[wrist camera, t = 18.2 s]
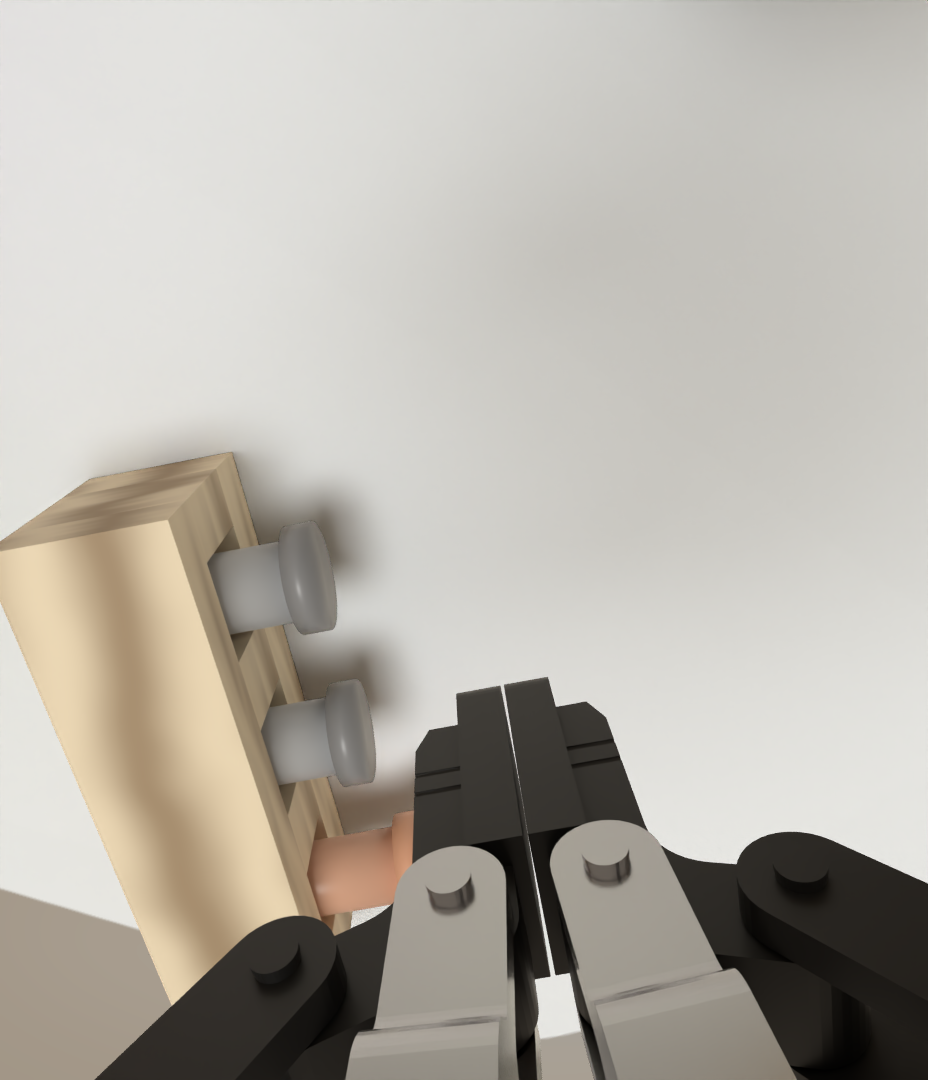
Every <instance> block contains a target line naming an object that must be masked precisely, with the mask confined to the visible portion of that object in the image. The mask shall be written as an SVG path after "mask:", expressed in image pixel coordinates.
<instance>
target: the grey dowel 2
mask: <svg viewBox="0 0 928 1080" xmlns="http://www.w3.org/2000/svg"><path fill="white" fill-rule="evenodd" d="M261 733H262V737H263V740H264V743H265V746H266V749H267V752H268V755H269V758H270V761H271V765H272V768H273V771H274V774H275V777H276V780H277V783H278V785H283V784H289V783H295V782H300V781H306V780H311V779H317V778H322V777H328V776H334V775H337V777H338V780H339V781H340V783H341V784H342V786H344V787H348V786H354V785H360V784H365V783H371V782H373V780H374V777H375V770H376V751H375V739H374V731H373V725H372V719H371V714H370V709H369V705H368V701H367V698H366V694H365V691H364V689H363V686H362V684H361V683H360V681H359V680H358V679H352V680H346V681H341V682H335V683H331V684H329V686H328V688H327V692H326V697H324V698H319V699H313V700H308V701H302V702H297V703H292V704H286V705H281V706H275V707H270V708H269V709H268V712H267V714H266V717H265V720H264V723H263V726H262V729H261Z"/></svg>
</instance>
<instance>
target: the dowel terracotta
mask: <svg viewBox="0 0 928 1080" xmlns="http://www.w3.org/2000/svg"><path fill="white" fill-rule="evenodd" d="M413 822H414V810H412V811H406V812H400V813H395V814H394V816H393V821H392V827H387V828H381V829H375V830H370V831H364V832H358V833H353V834H347V835H341V836H336V837H330V838H324V839H319V840H313V845H312V850H311V856H310V861H309V866H308V871H307V877H308V880H309V883H310V886H311V889H312V892H313V895H314V899H315V902H316V905H317V908H318V911H319V914H320V917H322V916H328V915H333V914H339V913H345V912H351V911H356V910H362V909H368V908H374V907H379V906H385V905H391V904H392V903H393V902H394V897H395V892H396V888H397V885H398V882H399V880H400V878H401V877H402V875H403V874H404V873H405V871H406V870H407V869H408V868H409V867H410V866H411V865H412V853H413Z"/></svg>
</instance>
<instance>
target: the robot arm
mask: <svg viewBox="0 0 928 1080" xmlns="http://www.w3.org/2000/svg"><path fill="white" fill-rule="evenodd" d="M504 688H505V695H506V701H507V707H508V713H509V719H510V726H511V732H512V738H513V744H514V751H515V757H516V763H517V768H516V763H515V758H514V753H513V748H512V743H511V737H510V732H509V727H508V722H507V717H506V712H505V707H504V702H503V696H502V692H501V687H500V686H496V687H490V688H485V689H479V690H474V691H468V692H463V693H457V694H456V699H457V718H458V725H455V726H449V727H444V728H438V729H433V730H429V731H428V733H427V735H426V736H425V738H424V739H423V741H422V743H421V744H420V746H419V747H418V749H417V751H416V760H415V777H416V778H415V791H414V793H415V797H414V822H413V853H412V865H411V866H410V867H409V868H408V869H407V870H406V871H405V873H404V874H403V875H402V877H401V878H400V880H399V882H398V885H397V888H396V892H395V897H394V902H393V903H392V904H391V905H390V906H389V907H388V908H387V909H385V910H384V911H383V912H381V913H380V914H378V915H377V916H375V917H374V918H372V919H370V920H368V921H366V922H364V923H362V924H360V925H357V926H355V927H353V928H351V929H349V930H346V931H344V932H342V933H340V934H338V935H335V936H334V934H333V932H332V930H331V929H330V928H329V927H328V926H327V925H326V924H325V923H324V922H322V921H321V920H319V919H316V918H313V917H309V916H288V917H283V918H279V919H276V920H273V921H271V922H268V923H266V924H264V925H262V926H260V927H258V928H256V929H255V930H253V931H252V932H250V933H249V934H248V935H246V936H245V937H244V938H243V939H242V940H241V941H239V942H238V943H237V944H236V945H235V946H234V947H233V948H232V949H231V950H230V951H229V952H228V953H227V954H226V955H225V956H224V957H223V958H222V959H221V960H219V961H218V962H217V963H216V964H215V965H214V966H213V967H212V968H211V969H210V970H209V971H208V972H207V973H206V974H205V975H204V976H203V977H202V978H201V979H200V980H199V981H197V982H196V983H195V984H194V985H193V986H192V987H191V988H190V989H189V990H188V991H187V992H186V993H185V994H184V995H183V996H182V997H181V998H180V999H179V1000H178V1001H177V1002H175V1003H174V1004H173V1005H172V1006H171V1007H170V1008H169V1009H168V1010H167V1011H166V1012H165V1013H164V1014H163V1015H162V1016H161V1017H160V1018H159V1019H158V1020H157V1021H156V1022H155V1023H154V1024H152V1026H150V1027H149V1028H148V1029H147V1030H146V1031H145V1032H144V1033H143V1034H142V1035H141V1036H140V1037H139V1038H138V1039H137V1040H136V1041H135V1042H134V1043H133V1044H132V1045H130V1046H129V1047H128V1048H127V1049H126V1050H125V1051H124V1052H123V1053H122V1054H121V1055H120V1056H119V1057H118V1058H117V1059H116V1060H115V1061H114V1062H113V1063H112V1064H111V1065H110V1066H108V1068H106V1069H105V1070H104V1071H103V1072H102V1073H101V1074H100V1075H99V1076H98V1077H97V1078H96V1079H95V1080H542V1069H541V1050H540V1037H539V1031H538V1026H537V1021H538V1014H539V1011H538V1000H537V993H536V985H535V979H539V978H545V977H551V976H550V970H549V963H548V957H547V951H546V945H545V938H544V932H543V926H542V920H541V914H540V907H539V901H538V895H537V889H536V882H535V876H534V870H533V864H532V857H533V863H534V868H535V873H536V878H537V883H538V888H539V893H540V898H541V903H542V908H543V914H544V919H545V924H546V929H547V934H548V939H549V944H550V949H551V954H552V960H553V965H554V970H555V975H560V974H566V973H570V976H571V981H572V987H573V992H574V997H575V1001H576V1007H577V1012H578V1018H579V1023H580V1028H581V1034H582V1037H583V1041H584V1045H585V1048H586V1052H587V1056H588V1059H589V1063H590V1067H591V1070H592V1074H593V1078H594V1080H928V883H925V882H923V881H921V880H919V879H916V878H914V877H912V876H910V875H908V874H905V873H903V872H901V871H899V870H896V869H894V868H892V867H890V866H887V865H885V864H883V863H881V862H879V861H876V860H874V859H872V858H870V857H867V856H865V855H863V854H861V853H858V852H856V851H854V850H852V849H850V848H847V847H845V846H843V845H841V844H838V843H836V842H834V841H832V840H829V839H827V838H824V837H821V836H817V835H814V834H809V833H802V832H781V833H775V834H770V835H767V836H764V837H761V838H759V839H757V840H755V841H754V842H752V843H751V844H750V845H748V846H747V847H746V848H745V849H744V850H743V852H742V853H741V855H740V857H739V859H738V861H737V864H725V863H712V862H703V861H697V860H692V859H688V858H685V857H682V856H680V855H677V854H675V853H673V852H671V851H669V850H667V849H666V848H664V847H663V846H661V845H660V844H659V842H658V840H657V839H656V838H655V837H654V836H653V835H652V834H651V833H649V832H648V830H647V828H646V826H645V824H644V821H643V818H642V815H641V813H640V810H639V807H638V804H637V802H636V799H635V796H634V793H633V791H632V788H631V785H630V782H629V780H628V777H627V774H626V771H625V769H624V766H623V763H622V760H621V759H620V755H619V752H618V749H617V747H616V744H615V743H614V738H613V736H612V733H611V730H610V727H609V725H608V722H607V719H606V717H605V716H604V715H602V714H601V713H600V712H599V711H597V710H596V709H595V708H594V707H592V706H591V705H590V704H589V703H587V702H581V703H576V704H570V705H565V706H559V707H556V706H555V702H554V699H553V695H552V691H551V687H550V683H549V680H548V677H544V678H539V679H533V680H528V681H522V682H517V683H511V684H506V685H504ZM517 769H518V774H517ZM518 775H519V779H518ZM519 782H520V784H519ZM520 788H521V790H520ZM521 794H522V796H521ZM522 800H523V801H522ZM523 806H524V808H523ZM524 813H525V814H524ZM525 819H526V820H525ZM526 825H527V826H526ZM527 831H528V832H527ZM528 837H529V839H528ZM529 842H530V845H529ZM530 847H531V851H530ZM531 852H532V857H531Z"/></svg>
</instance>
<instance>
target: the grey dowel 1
mask: <svg viewBox="0 0 928 1080" xmlns="http://www.w3.org/2000/svg"><path fill="white" fill-rule="evenodd" d="M207 565H208V568H209V571H210V574H211V578H212V581H213V584H214V587H215V590H216V593H217V596H218V599H219V602H220V606H221V609H222V612H223V615H224V618H225V621H226V624H227V627H228V631H229V634H230V635H231V634H236V633H242V632H247V631H252V630H258V629H263V628H268V627H274V626H279V625H285V624H290V623H294V625H295V626H296V628H297V630H298V631H299V632H300V633H301V634H303V635H307V634H312V633H318V632H323V631H328V630H333V629H334V627H335V625H336V620H337V598H336V588H335V581H334V575H333V570H332V565H331V561H330V556H329V553H328V549H327V546H326V543H325V540H324V537H323V535H322V533H321V530H320V529H319V527H318V525H317V524H316V523H315V522H314V521H309V522H304V523H299V524H294V525H288V526H284V527H283V528H282V529H281V531H280V535H279V541H278V542H273V543H268V544H262V545H257V546H252V547H247V548H241V549H236V550H231V551H225V552H220V553H215V554H213V555H212V556H211V558H210V559H209V561H208V562H207Z"/></svg>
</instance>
